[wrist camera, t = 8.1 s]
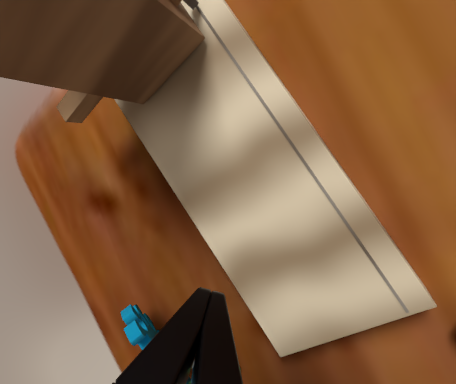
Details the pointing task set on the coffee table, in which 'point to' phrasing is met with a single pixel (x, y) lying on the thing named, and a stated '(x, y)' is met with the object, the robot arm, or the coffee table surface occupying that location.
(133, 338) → the gear
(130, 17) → the tan knobbed block
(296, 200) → the pine board
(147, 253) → the coffee table surface
